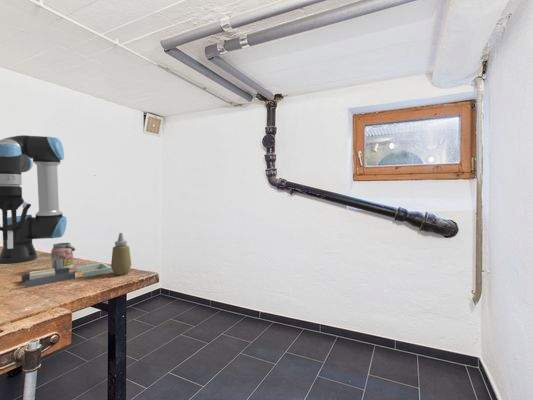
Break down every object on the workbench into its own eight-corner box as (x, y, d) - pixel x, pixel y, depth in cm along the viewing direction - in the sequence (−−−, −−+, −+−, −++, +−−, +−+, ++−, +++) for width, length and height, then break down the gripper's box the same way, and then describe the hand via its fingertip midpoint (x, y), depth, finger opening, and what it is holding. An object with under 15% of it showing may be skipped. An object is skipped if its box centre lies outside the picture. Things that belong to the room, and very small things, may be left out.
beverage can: (64, 266, 139) (64, 241, 139) (79, 267, 138) (79, 242, 137) (46, 271, 130) (46, 245, 130) (62, 272, 129) (61, 246, 128)
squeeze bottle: (127, 270, 133) (127, 231, 133) (134, 273, 128) (133, 233, 127) (108, 273, 128) (107, 233, 127) (114, 277, 122) (113, 235, 121)
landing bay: (75, 271, 131) (75, 267, 131) (103, 266, 139) (102, 262, 139) (83, 277, 122) (83, 272, 122) (112, 271, 130) (112, 267, 130)
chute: (21, 281, 116) (21, 275, 116) (68, 273, 128) (68, 267, 128) (25, 287, 109) (25, 281, 109) (75, 278, 121) (75, 272, 120)
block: (30, 281, 117) (29, 272, 117) (54, 278, 122) (54, 268, 122) (29, 285, 112) (29, 275, 112) (55, 281, 117) (55, 271, 117)
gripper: (-15, 185, 101) (-14, 252, 102) (32, 185, 111) (33, 247, 111) (-16, 185, 106) (-15, 249, 107) (29, 186, 116) (30, 244, 117)
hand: (10, 248), depth 109 cm, fingers closed
